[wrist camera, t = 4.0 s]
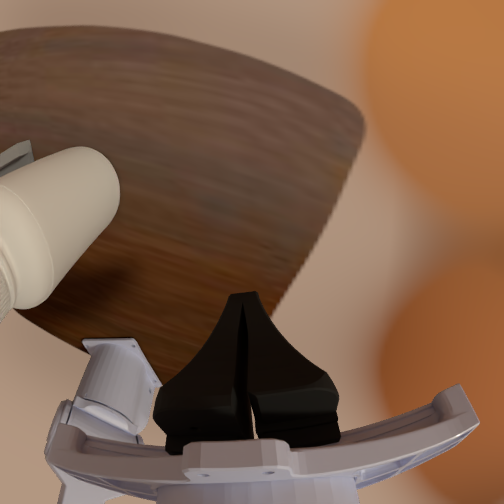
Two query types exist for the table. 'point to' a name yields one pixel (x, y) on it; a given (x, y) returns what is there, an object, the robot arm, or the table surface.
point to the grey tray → (16, 157)
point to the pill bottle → (51, 221)
